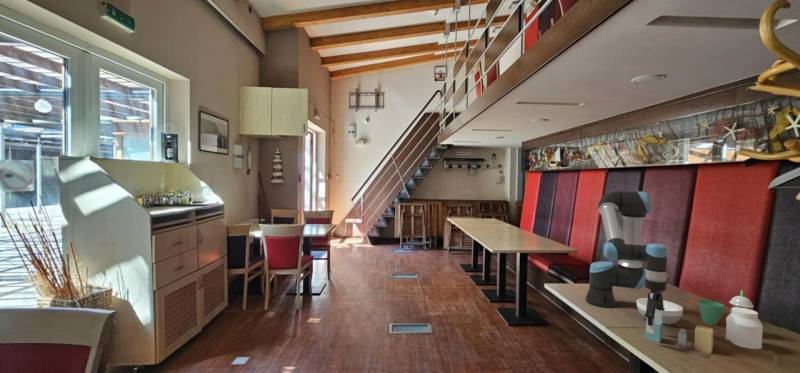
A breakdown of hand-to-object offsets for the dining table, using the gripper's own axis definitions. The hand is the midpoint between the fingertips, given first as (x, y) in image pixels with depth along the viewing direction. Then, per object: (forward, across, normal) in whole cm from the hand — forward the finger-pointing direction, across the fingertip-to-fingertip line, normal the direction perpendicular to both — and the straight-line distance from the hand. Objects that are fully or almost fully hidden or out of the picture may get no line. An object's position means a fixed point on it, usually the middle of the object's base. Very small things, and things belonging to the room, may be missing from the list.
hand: (654, 328), depth 158 cm
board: (+6, +2, -12) cm, 14 cm away
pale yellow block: (+5, +5, -16) cm, 18 cm away
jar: (+6, +26, -27) cm, 38 cm away
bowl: (+6, +29, +4) cm, 30 cm away
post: (+5, 0, -10) cm, 11 cm away
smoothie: (+6, +42, -25) cm, 49 cm away
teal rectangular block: (+6, 0, 0) cm, 6 cm away
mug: (+5, +49, -13) cm, 51 cm away
